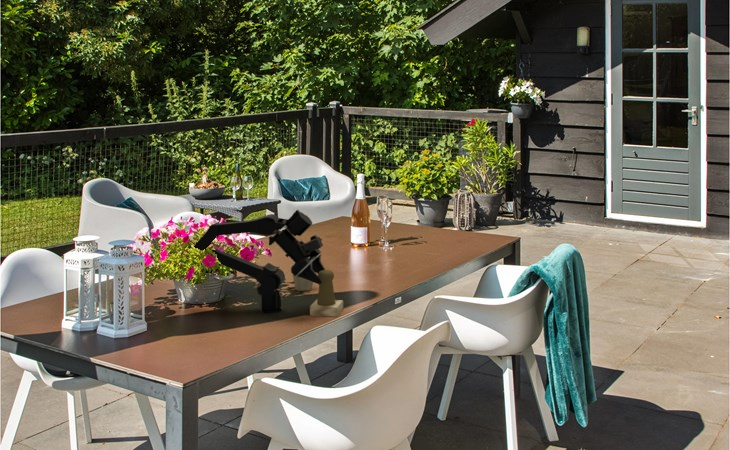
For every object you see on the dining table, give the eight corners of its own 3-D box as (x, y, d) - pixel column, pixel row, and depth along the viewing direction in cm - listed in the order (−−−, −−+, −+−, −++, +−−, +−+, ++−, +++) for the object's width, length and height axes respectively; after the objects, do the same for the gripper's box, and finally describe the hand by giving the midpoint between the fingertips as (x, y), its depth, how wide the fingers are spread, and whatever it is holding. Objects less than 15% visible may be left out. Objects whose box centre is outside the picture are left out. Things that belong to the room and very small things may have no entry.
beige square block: (310, 315, 308) (310, 306, 308) (316, 308, 317) (316, 299, 316) (337, 316, 307) (337, 307, 306) (343, 309, 315) (343, 300, 315)
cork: (331, 300, 315) (331, 267, 313) (338, 304, 310) (337, 271, 308) (314, 302, 313) (313, 269, 311) (320, 306, 307) (320, 273, 306)
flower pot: (316, 292, 337) (315, 268, 336) (289, 292, 338) (288, 268, 336) (317, 286, 347) (317, 262, 345) (291, 286, 347) (291, 263, 345)
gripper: (300, 234, 299) (335, 270, 299) (314, 223, 317) (347, 257, 317) (276, 258, 302) (310, 293, 302) (291, 246, 320) (324, 279, 320)
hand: (324, 280), depth 310 cm, fingers open, 9 cm apart
